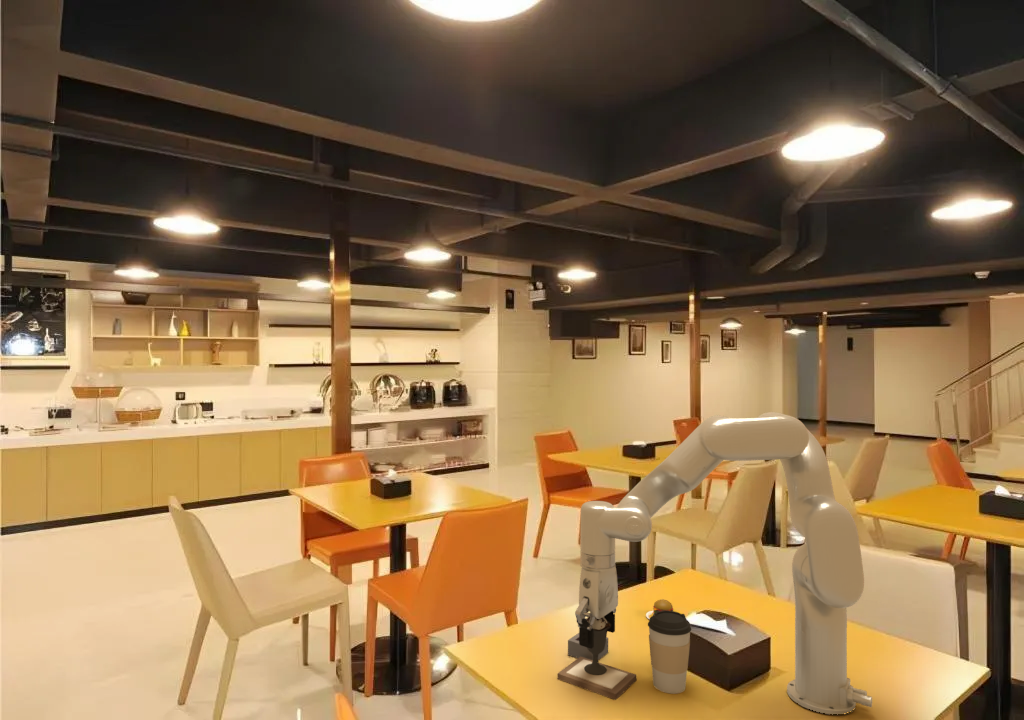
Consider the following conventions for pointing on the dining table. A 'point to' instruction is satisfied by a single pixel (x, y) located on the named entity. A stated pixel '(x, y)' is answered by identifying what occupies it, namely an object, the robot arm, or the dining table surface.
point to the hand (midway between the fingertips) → (597, 638)
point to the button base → (583, 649)
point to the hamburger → (660, 607)
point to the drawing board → (597, 678)
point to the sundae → (598, 645)
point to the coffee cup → (669, 650)
